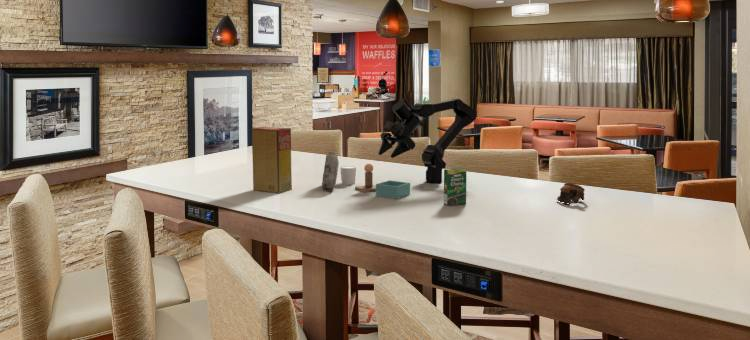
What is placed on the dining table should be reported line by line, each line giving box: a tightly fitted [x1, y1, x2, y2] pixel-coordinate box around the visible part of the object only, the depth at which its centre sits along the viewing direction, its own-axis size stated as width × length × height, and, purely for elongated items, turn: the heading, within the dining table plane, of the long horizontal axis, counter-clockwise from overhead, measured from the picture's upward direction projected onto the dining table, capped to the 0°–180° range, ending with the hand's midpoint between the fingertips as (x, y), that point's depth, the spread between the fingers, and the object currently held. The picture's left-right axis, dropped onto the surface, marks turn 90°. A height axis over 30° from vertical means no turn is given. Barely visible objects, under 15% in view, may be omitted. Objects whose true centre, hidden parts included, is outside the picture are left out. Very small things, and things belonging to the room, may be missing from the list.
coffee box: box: [443, 167, 467, 207], centre depth 206 cm, size 8×3×13 cm, turn 111°
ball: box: [364, 163, 374, 173], centre depth 231 cm, size 4×4×4 cm
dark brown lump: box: [556, 182, 586, 204], centre depth 209 cm, size 12×10×8 cm
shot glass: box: [339, 165, 357, 186], centre depth 245 cm, size 7×7×7 cm
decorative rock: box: [321, 151, 339, 190], centre depth 234 cm, size 16×7×15 cm, turn 0°
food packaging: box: [251, 126, 293, 194], centre depth 230 cm, size 13×9×25 cm
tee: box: [354, 171, 376, 193], centre depth 232 cm, size 8×8×7 cm
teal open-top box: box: [375, 179, 411, 200], centre depth 222 cm, size 10×10×4 cm
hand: (385, 155), depth 234 cm, fingers open, 9 cm apart
